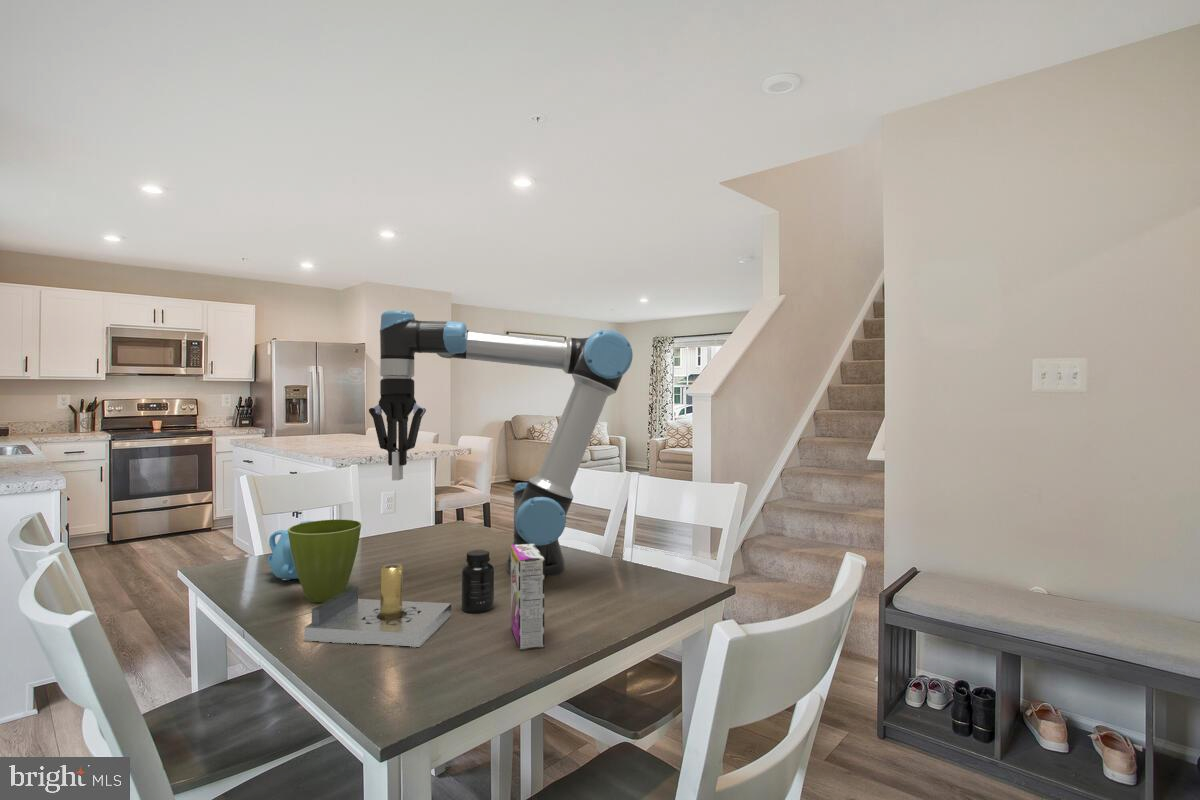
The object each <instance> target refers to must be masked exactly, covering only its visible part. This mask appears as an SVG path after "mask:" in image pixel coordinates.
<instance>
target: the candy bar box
mask: <svg viewBox="0 0 1200 800" xmlns="http://www.w3.org/2000/svg"><path fill="white" fill-rule="evenodd" d="M510 550H511V574H510V628H511V631H512V634H513V636H514V639H515V641H516V644H517V647H518V650H520V651H522V650H531V649H540V648H544V647H545V577H544V557H543V556H542V555H541V553H540V552H539V550H538V549H537V547H536V546H535V544H520V545H518V544H515V545H512V544H511V545H510Z"/></svg>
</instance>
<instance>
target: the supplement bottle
mask: <svg viewBox="0 0 1200 800" xmlns="http://www.w3.org/2000/svg"><path fill="white" fill-rule="evenodd" d="M465 557H466V561H465V562H466V564H465V565H464V566H463V567H462V569H461V609H462V610H463V611H464V612H465V613H469V612H470V614H481V612H482V613H486V612H488V611H490V610H492V609H493V608H494V603H495V567H494V565H492V563H490V560H491V559H490V551H488V550H486V549H473V550H469V551H467V552H466V556H465Z"/></svg>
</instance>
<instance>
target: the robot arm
mask: <svg viewBox="0 0 1200 800" xmlns="http://www.w3.org/2000/svg"><path fill="white" fill-rule="evenodd" d="M379 337H380V339H379V344H380V347H379V348H380V357H379V358H380V362H379V363H380V365H379V368H380V369H379V370H380V371H379V374H380V377H382V378H381V379H380V382H379V388H380V389H379V394H380V398H379V399H378V404H376V405H375V406H373V407H370V408H369V409H368V413H369V414H370V415H371V417H372V419H373V424H374V427H375V432H376V437H377V441H378V444H379V445H378V446H379V448H380V449H382V450H385V451H387V456H388V457H387V458H388V459H387V461H388V462H387V463H388V466H391V481H401V480H403V479H404V466H406V465H407V463H408V462H407V461H408V458H407V457H408V454H407V453H408V451H409V450H412V449H415V447H416V443H417V439H418V434H419V430H420V426H421V422H422V418H423V417H424V415H425V413H426V412H427V409H426V408H425V407H422V406H420V405H418V404H417V401H416V399H415V380H414V379H413V378H414V376H415V355H416V354H417V353H418V354H422V353H423V354H436V355H437V356H439V357H441V358H443V359H461V360H473V361H483V362H492V363H499V364H500V363H501V364H512V365H521V366H528V367H540V368H548V369H556V370H557V369H558V370H562V371H563V372H564V374H566V375H567V374H568V375H569V374H570V375H571V376H572V380H573V382H574V385H573V387H572V389H571V392H570V394H569V397H568V400H567V402H566V405H565V408H564V409H563V411H562V415H561V417H560V419H559V422H558V424H557V426H556V429H555V431H554V434H553V436H552V439H551V441H550V443H549V446H548V449H547V451H546V453H545V455H544V459H543V461H542V463H541V465H540V468H539V471H538V472H537V475H535V476H533V477H531V478H529V479H528V480H527V482H518V483H516V484H515V485H514V490H513V493H512V495H513V542H512V544H511V545H515V544H518V545H520V544H535V546H536V547H537V549H538V550H539V552H540V553H541V555H542V556H543V557H544V578H545V577H551V576H556V575H558V574H560V573H563V572H564V571H565V558H564V555H563V551H562V549H561V545H560V542H559V538H560V537H561V536H562V534H563V533H564V530H565V528H566V523H567V514H568V512H569V510H570V507H571V504H572V502H573V499H574V494H573V492H572V489H571V488H572V486H573V485H572V484H573V483H574V480H575V479H576V475H577V472H578V470H579V467H580V465H581V462H582V461H583V458H584V456H585V454H586V451H587V449H588V446H589V443H590V441H591V439H592V436H593V434H594V431H595V429H596V425H597V423H598V421H599V419H600V416H601V413H602V411H603V408H604V406H605V404H606V402H607V399H608V397H610V396H612V395H614V394H616V393H617V390H618V388H619V385H620V383H621V380H622V378H623V377H624V375H625V374H626V373H627V372H628V370H629V369H630V368H631V365H632V361H633V357H634V356H633V349H632V345H631V344H630V342H629V340H628V339H627V337H626V336H624V335H623V334H622V333H620V332H619V331H615V330H612V329H601V330H598V331H595V332H594V333H592V334H591V335H589V337H579V338H578V337H577V338H576V337H568V338H567V339H566V340H558V339H550V338H541V337H534V336H525V335H524V336H523V335H516V334H515V335H514V334H508V333H507V334H506V333H505V334H504V333H498V332H497V333H496V332H488V331H478V330H470V329H467V325H466V324H465V323H464V322H462V321H454V320H447V321H445V320H444V321H443V320H442V321H441V320H436V321H435V320H417V319H416V318H415V314H414V313H413V312H412V311H407V310H399V309H398V310H386V311H384V312H382V314H381V315H380V328H379ZM415 353H416V354H415ZM382 413H384V414H385V416H386V423H387V424H386V425H387V428H386V426H385V421H384V417H383V414H382ZM411 413H413V416H412V419H411V422H410V423H411V424H410V427H409V431H408V421H409V416H410V414H411ZM397 425H398V426H397ZM397 428H398V429H397ZM397 432H398V433H397ZM397 436H398V439H397ZM397 442H398V443H397ZM397 444H398V445H397ZM506 571H507V572H508V573H509V574H510V575H511V549H510V551H509V554H508V557H507V560H506Z"/></svg>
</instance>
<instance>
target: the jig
mask: <svg viewBox="0 0 1200 800" xmlns="http://www.w3.org/2000/svg"><path fill="white" fill-rule="evenodd" d="M380 601H381V599H369V598H368V599H366V598H359V586H358V585H351V586H349V587H346V589H345V590H344V591H342V592H341V593H339V594H337V595H336V596H334V597H332V598H330V599H329V600H327V601H325V602H321V603H320V604H319V605H317V606H314V607H313V608H312V609H311V623H309V624H308V625H306V626H304V628H303V632H304V634H303V635H304V636H303V641H304V642H312V641H319V642H318V643H329V642H332V643H333V644H347V643H348V644H349V643H351V644H352V645H364V644H383V645H385V644H386V645H401V646H402V645H403V646H410V647H409V648H416V647H419V648H420V647H421V646H423V644H425V643H426V642H427V641H428V639H429V638H430V637H432V636H433V634H434V633H435V632H436V631H437V630H438V629H440V627H441V626H442V625H443V624H444V623H446V621H447V620H448V619H450V617H451V616H452V603H451V602H450V603H449V602H448V603H447V602H431V601H430V602H427V601H425V602H424V601H409V600H408V601H407V600H402V618H401V619H398V620H391V621H384V620H380ZM353 643H354V644H353ZM355 643H357V644H355ZM348 644H347V645H348ZM351 644H350V645H351ZM411 646H412V647H411Z"/></svg>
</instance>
